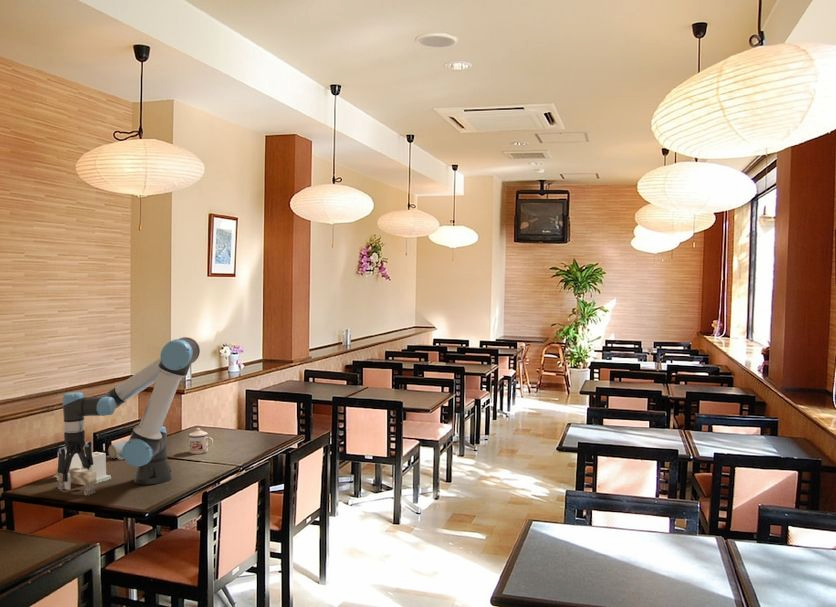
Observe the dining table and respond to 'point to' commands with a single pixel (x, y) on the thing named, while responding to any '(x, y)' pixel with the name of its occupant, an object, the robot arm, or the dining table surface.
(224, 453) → the dining table surface
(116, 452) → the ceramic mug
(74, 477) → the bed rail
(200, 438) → the teacup with lid
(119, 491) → the dining table surface
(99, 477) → the twin white pillars base
